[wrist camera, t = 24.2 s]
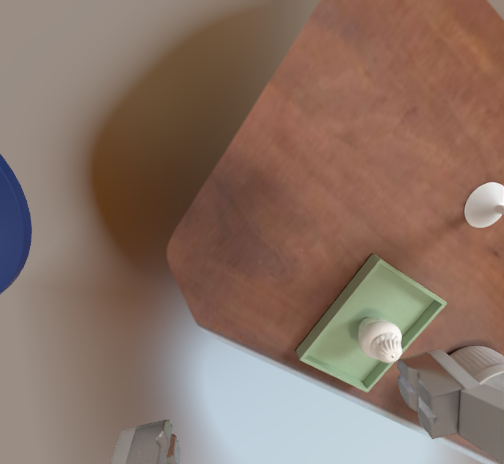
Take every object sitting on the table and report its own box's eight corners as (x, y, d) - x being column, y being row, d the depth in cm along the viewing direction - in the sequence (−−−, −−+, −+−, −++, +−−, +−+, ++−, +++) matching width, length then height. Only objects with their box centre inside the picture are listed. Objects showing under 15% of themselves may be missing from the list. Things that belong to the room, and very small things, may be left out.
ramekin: (511, 342, 51) (555, 373, 44) (479, 400, 55) (515, 437, 48) (446, 335, 48) (483, 366, 42) (417, 396, 52) (446, 433, 46)
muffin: (391, 331, 46) (421, 364, 40) (356, 347, 46) (379, 383, 40) (380, 301, 44) (409, 330, 37) (344, 318, 44) (366, 350, 38)
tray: (361, 382, 50) (367, 392, 48) (295, 350, 46) (299, 360, 44) (437, 296, 46) (447, 303, 44) (372, 253, 42) (380, 258, 40)
